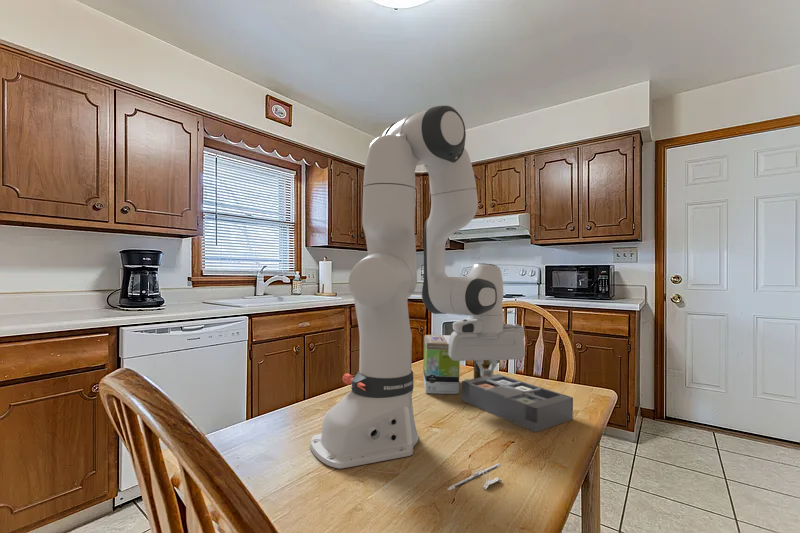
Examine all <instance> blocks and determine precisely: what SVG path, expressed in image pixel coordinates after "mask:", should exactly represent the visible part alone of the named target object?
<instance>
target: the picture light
mask: <svg viewBox="0 0 800 533" xmlns="http://www.w3.org/2000/svg"><path fill="white" fill-rule="evenodd" d="M501 465H502V463H495V464H494V465H492V466H490V467H488V468H485V469H484V468H482V470H481V468H479V469H477V470H475V471H474V473H473V474H472V475H471V476H469V477H467V478H465V479H462V480H461V481H459V482H457V483H454V484H452V485H450V486H449V487H448V488H447V490H446V491H451V490H455V489H456V488H459V487H460V486H462V485H464V484H467V483H468V482H470V481H472V480H474V479H477V478H479V477H481V476H484V478H485V483H484V485H483V486H482V488H483V490H485V491H487V488H488V487H489V485H490V486H491V485H492V484H495V483H496V482H499V483H501V482H502V483H503V480H502V479H501V478H499V477H495V478H494V479H491V478H490V475H489V472H491V471H493V470H494V469H495V470H496V469H497V468H499V467H501ZM486 474H487V477H488V479H489V480H487V477H486Z"/></svg>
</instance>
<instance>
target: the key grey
mask: <svg viewBox="0 0 800 533" xmlns="http://www.w3.org/2000/svg"><path fill="white" fill-rule="evenodd" d="M496 382H498V383H501V384H504V385H506V384H510V383H512V382H509V381H506V380H500V381H496ZM497 386H498V385H495V384H494V387H497ZM510 387H513V388H515V385H513V386H510Z"/></svg>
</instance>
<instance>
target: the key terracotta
mask: <svg viewBox="0 0 800 533" xmlns="http://www.w3.org/2000/svg"><path fill="white" fill-rule="evenodd" d="M477 386H480V387H482V388H485V389H488V388H492V387H494V386H491V385H489V384H481V385H477Z"/></svg>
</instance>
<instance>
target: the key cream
mask: <svg viewBox="0 0 800 533" xmlns="http://www.w3.org/2000/svg"><path fill="white" fill-rule="evenodd" d="M515 388H516V389H519V390H522V391H528V390H532V389H530V388H527V387H524V386H519V387H515ZM531 394H534V392H532V393H531ZM519 397H522V398H523V397H525V398H527V397H530V396H527V395H520V396H519Z"/></svg>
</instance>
